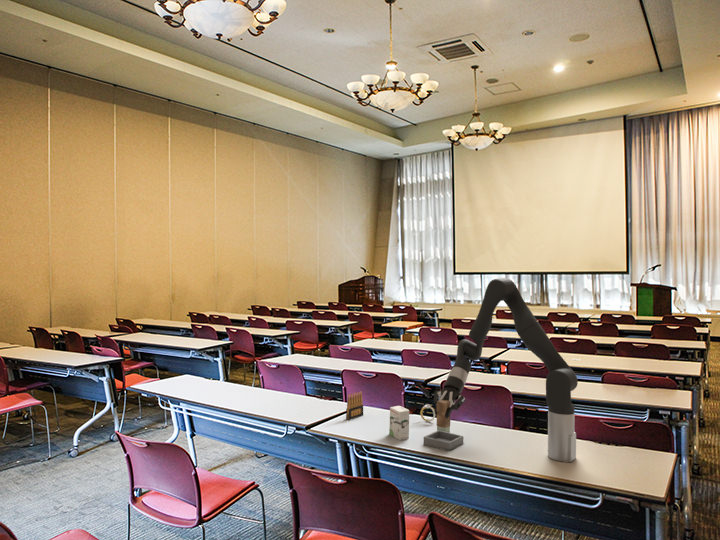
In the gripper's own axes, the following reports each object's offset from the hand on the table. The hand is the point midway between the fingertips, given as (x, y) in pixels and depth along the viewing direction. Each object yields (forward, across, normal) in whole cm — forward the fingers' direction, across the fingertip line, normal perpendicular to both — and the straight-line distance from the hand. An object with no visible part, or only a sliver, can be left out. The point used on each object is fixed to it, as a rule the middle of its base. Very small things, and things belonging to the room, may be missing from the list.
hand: (441, 415), depth 201 cm
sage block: (-1, -7, +18) cm, 20 cm away
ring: (-8, -21, +26) cm, 34 cm away
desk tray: (+7, 0, +10) cm, 12 cm away
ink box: (+10, -19, +7) cm, 22 cm away
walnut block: (+2, 0, +5) cm, 5 cm away
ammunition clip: (+4, -51, +14) cm, 53 cm away
